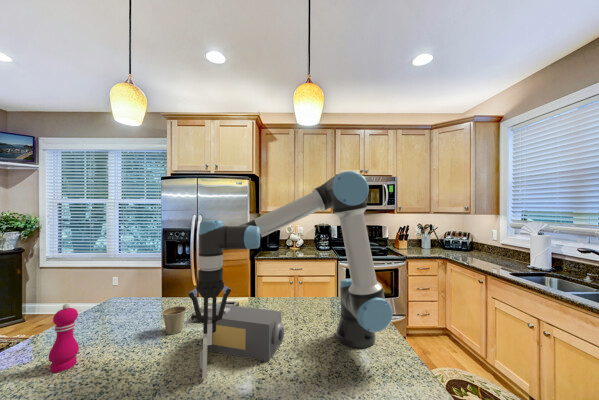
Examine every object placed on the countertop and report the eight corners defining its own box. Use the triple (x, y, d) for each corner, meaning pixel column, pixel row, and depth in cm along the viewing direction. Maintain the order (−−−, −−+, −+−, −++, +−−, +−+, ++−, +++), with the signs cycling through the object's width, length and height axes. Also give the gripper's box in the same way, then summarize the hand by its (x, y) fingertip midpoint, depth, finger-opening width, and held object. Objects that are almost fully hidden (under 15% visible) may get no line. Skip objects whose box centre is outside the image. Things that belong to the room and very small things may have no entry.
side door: (206, 378, 74) (207, 343, 75) (199, 379, 73) (200, 344, 74) (206, 348, 90) (207, 320, 90) (200, 350, 89) (201, 321, 90)
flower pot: (164, 339, 99) (164, 316, 99) (159, 330, 106) (159, 309, 107) (189, 331, 105) (189, 310, 105) (182, 324, 112) (183, 304, 113)
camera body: (287, 344, 95) (287, 309, 96) (275, 362, 83) (276, 323, 84) (221, 334, 103) (222, 302, 103) (202, 349, 91) (203, 313, 92)
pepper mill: (75, 357, 86) (78, 298, 87) (80, 365, 82) (83, 303, 83) (46, 367, 81) (49, 304, 82) (49, 377, 76) (52, 309, 77)
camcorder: (236, 320, 116) (237, 309, 117) (190, 323, 113) (190, 311, 113) (239, 307, 132) (239, 297, 133) (198, 310, 129) (198, 300, 129)
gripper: (230, 264, 86) (230, 334, 85) (189, 267, 82) (188, 340, 81) (232, 269, 79) (231, 345, 78) (187, 272, 75) (186, 353, 74)
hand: (209, 342), depth 80 cm, fingers closed
